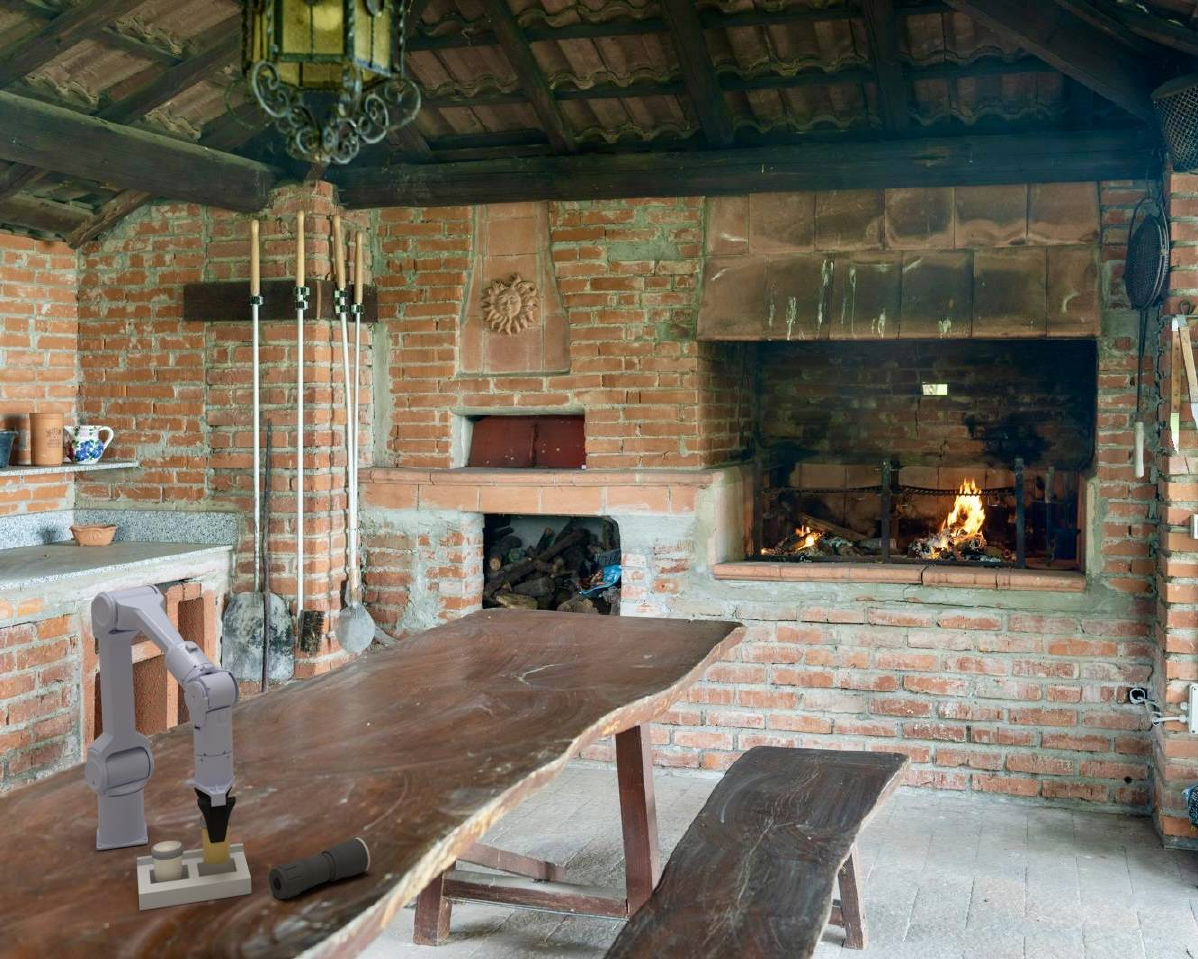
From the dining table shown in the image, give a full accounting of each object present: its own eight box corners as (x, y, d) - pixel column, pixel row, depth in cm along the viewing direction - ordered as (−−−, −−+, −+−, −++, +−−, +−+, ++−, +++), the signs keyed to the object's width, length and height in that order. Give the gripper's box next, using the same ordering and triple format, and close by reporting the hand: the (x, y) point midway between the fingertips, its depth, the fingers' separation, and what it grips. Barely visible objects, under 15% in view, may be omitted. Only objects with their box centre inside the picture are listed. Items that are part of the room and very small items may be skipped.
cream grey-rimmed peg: (153, 886, 191) (151, 842, 191) (184, 881, 193) (182, 838, 192) (153, 898, 187) (151, 853, 186) (185, 893, 189) (183, 849, 188)
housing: (137, 879, 194) (136, 857, 193) (243, 864, 200) (242, 843, 199) (139, 910, 183) (138, 887, 182) (251, 893, 189) (250, 871, 188)
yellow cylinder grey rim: (199, 855, 194) (198, 812, 193) (230, 850, 195) (229, 808, 194) (202, 867, 189) (200, 823, 188) (233, 862, 191) (232, 819, 190)
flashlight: (285, 906, 185) (284, 871, 184) (266, 895, 188) (265, 861, 188) (370, 875, 196) (370, 842, 195) (350, 866, 199) (350, 833, 199)
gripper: (183, 740, 196) (186, 823, 197) (189, 768, 182) (192, 857, 184) (229, 735, 198) (231, 817, 200) (238, 762, 185) (241, 850, 186)
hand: (216, 836), depth 192 cm, fingers closed on yellow cylinder grey rim, 4 cm apart
